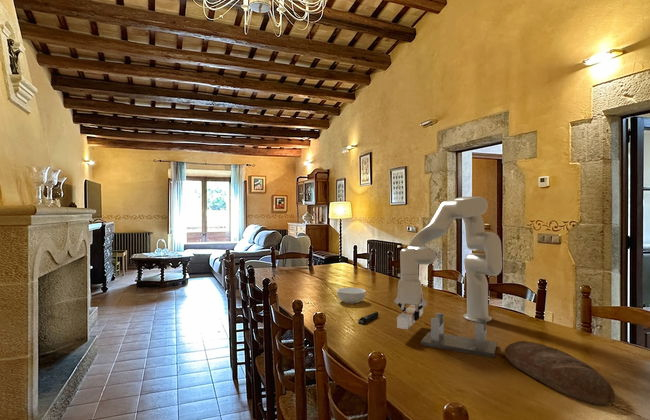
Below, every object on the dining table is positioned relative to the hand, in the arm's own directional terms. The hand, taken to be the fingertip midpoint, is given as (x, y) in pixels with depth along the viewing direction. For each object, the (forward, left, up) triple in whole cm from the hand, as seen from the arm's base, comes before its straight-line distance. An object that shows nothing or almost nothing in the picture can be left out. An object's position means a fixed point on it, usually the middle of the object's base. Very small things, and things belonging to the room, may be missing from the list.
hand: (410, 318), depth 157 cm
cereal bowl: (-36, -45, -6) cm, 59 cm away
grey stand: (+7, +21, -6) cm, 22 cm away
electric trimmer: (-8, -23, -6) cm, 25 cm away
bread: (+21, +51, -6) cm, 55 cm away
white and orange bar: (0, 0, -1) cm, 1 cm away
